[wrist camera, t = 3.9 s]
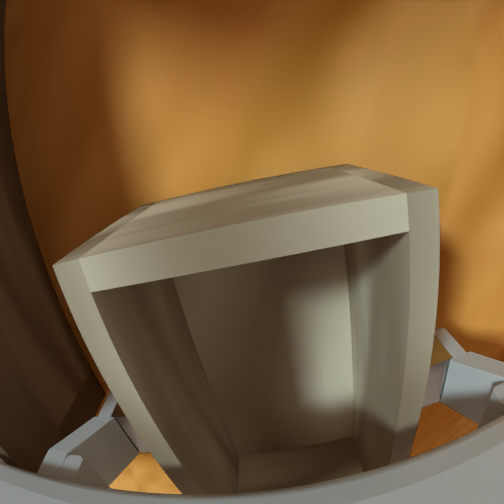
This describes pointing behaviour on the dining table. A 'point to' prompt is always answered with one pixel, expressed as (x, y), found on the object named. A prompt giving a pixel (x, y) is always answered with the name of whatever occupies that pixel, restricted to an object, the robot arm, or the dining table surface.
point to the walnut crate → (33, 331)
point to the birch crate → (266, 325)
